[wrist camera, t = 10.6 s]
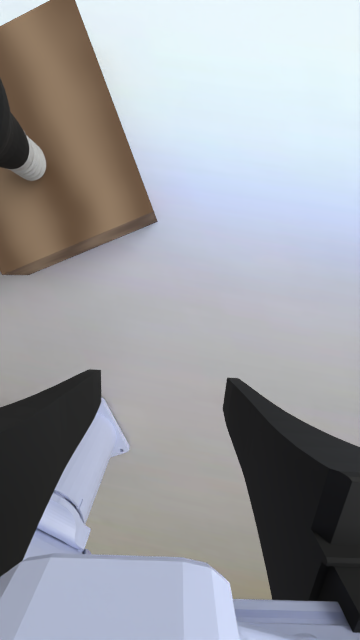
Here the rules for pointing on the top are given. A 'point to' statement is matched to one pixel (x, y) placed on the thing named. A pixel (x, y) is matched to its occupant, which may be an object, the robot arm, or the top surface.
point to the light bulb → (18, 145)
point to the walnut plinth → (63, 146)
